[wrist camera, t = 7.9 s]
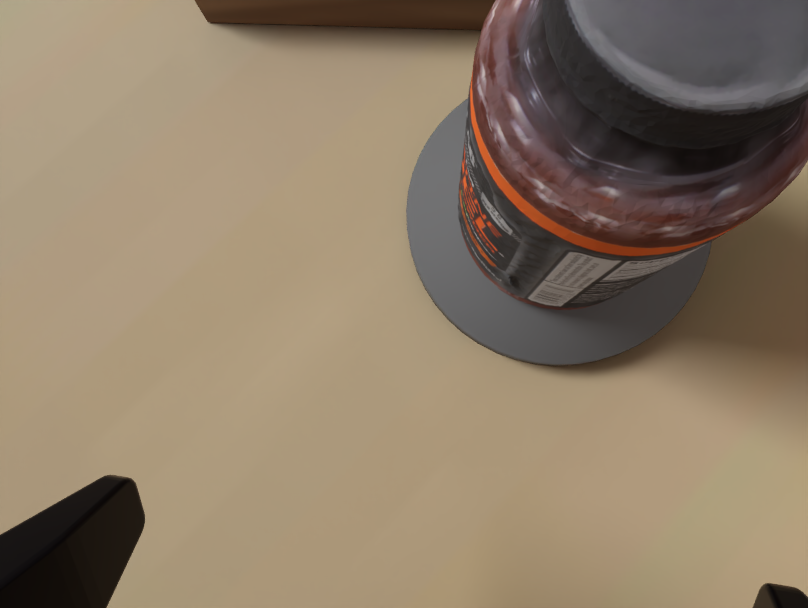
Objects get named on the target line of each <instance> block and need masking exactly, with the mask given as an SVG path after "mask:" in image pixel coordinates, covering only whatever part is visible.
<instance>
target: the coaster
mask: <svg viewBox="0 0 808 608" xmlns="http://www.w3.org/2000/svg"><path fill="white" fill-rule="evenodd" d="M467 107H468V99H466V100H465V101H464V102H463V103H461V104H460V105H459V106H458V107H456V108H455V109H454V110H453V111H452V112H451V113H450V114H449V115H448V116H447V117H446V118H445V119H444V120H443V121H442V122H441V123H440V124H439V125H438V127H437V128H436V130H435V131H434V132H433V134H432V135H431V136H430V138H429V139H428V141H427V143H426V144H425V146H424V148H423V150H422V152H421V154H420V155H419V158H418V161H417V163H416V166H415V168H414V171H413V174H412V178H411V182H410V186H409V190H408V199H407V209H406V213H407V231H408V237H409V243H410V249H411V254H412V257H413V260H414V263H415V267H416V270H417V273H418V275H419V277H420V279H421V281H422V283H423V285H424V287H425V289H426V291H427V292H428V294H429V296H430V297H431V299H432V300H433V302H434V303H435V305H436V306H437V307H438V308H439V310H440V311H441V312H442V313H443V314H444V315H445V317H446V318H447V319H448V320H449V321H450V322H451V323H452V324H453V325H455V326H456V327H457V328H458V329H459V330H460V331H461V332H462V333H464V334H465V335H467V336H468V337H469V338H471V339H472V340H474V341H475V342H477V343H478V344H480V345H482V346H484V347H486V348H488V349H490V350H492V351H493V352H495V353H498V354H501V355H503V356H506V357H509V358H512V359H514V360H519V361H523V362H528V363H532V364H541V365H552V366H558V365H576V364H582V363H588V362H594V361H597V360H601V359H604V358H607V357H610V356H613V355H617V354H620V353H622V352H624V351H626V350H628V349H631V348H633V347H635V346H637V345H639V344H640V343H642V342H644V341H645V340H647V339H648V338H650V337H651V336H653V335H655V334H656V333H657V332H658V331H659V330H661V329H662V328H663V327H664V326H665V325H667V324H668V323H669V322H670V321H671V320H672V319H673V318H674V317H675V316H676V314H677V313H678V312H679V311H680V310H681V309H682V308H683V307H684V305H685V304H686V302H687V301H688V299H689V298H690V296H691V295H692V293H693V292H694V290H695V289H696V286H697V284H698V282H699V280H700V278H701V276H702V274H703V272H704V269H705V266H706V263H707V259H708V256H709V253H710V247H711V242H709V243H708V244H706V245H704V246H702V247H701V248H699V249H697V250H695V251H694V252H692V253H690V254H688V255H687V256H685V257H683V258H682V259H680V260H678V261H677V262H675V263H673V264H671V265H670V266H668V267H666V268H665V269H663V270H661V271H660V272H658V273H656V274H655V275H653V276H651V277H649V278H648V279H646V280H644V281H643V282H641V283H639V284H638V285H636V286H634V287H633V288H631V289H629V290H627V291H626V292H624V293H622V294H620V295H618V296H616V297H614V298H612V299H610V300H607V301H604V302H602V303H600V304H597V305H593V306H589V307H586V308H582V309H575V310H554V309H547V308H541V307H537V306H534V305H530V304H527V303H524V302H522V301H519V300H517V299H515V298H513V297H511V296H510V295H508V294H506V293H504V292H503V291H501V290H500V289H499V288H498V287H497V286H496V285H495V284H493V283H492V282H491V281H490V280H489V279H488V278H487V277H486V276H485V275H484V274H483V273H482V271H481V270H480V269H479V267H478V266H477V265H476V263H475V261H474V260H473V258H472V256H471V255H470V253H469V251H468V249H467V246H466V244H465V241H464V238H463V236H462V232H461V227H460V222H459V219H458V213H459V212H458V203H459V202H458V194H459V182H460V172H461V165H462V157H463V149H464V139H465V129H466V118H467V111H468V110H467Z"/></svg>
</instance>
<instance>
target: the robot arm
mask: <svg viewBox="0 0 808 608" xmlns="http://www.w3.org/2000/svg"><path fill="white" fill-rule="evenodd" d="M144 523H145V514H144V510H143V507H142V503H141V500H140V496H139V493H138V489H137V486H136V483H135V482H134V481H133V480H132V479H131V478H128V477H122V476H116V475H107V476H104V477H102V478H100V479H98V480H96V481H94V482H93V483H91V484H89V485H87V486H86V487H84V488H82V489H80V490H79V491H77V492H75V493H73V494H72V495H70V496H68V497H66V498H64V499H63V500H61V501H59V502H57V503H56V504H54V505H52V506H50V507H49V508H47V509H45V510H43V511H42V512H40V513H38V514H36V515H34V516H33V517H31V518H29V519H27V520H26V521H24V522H22V523H20V524H19V525H17V526H15V527H13V528H12V529H10V530H8V531H6V532H4V533H3V534H1V535H0V608H107V606H108V603H109V601H110V599H111V597H112V595H113V593H114V591H115V589H116V586H117V584H118V582H119V580H120V578H121V576H122V574H123V572H124V569H125V567H126V565H127V563H128V561H129V559H130V557H131V555H132V552H133V550H134V548H135V546H136V544H137V542H138V540H139V538H140V536H141V533H142V531H143V528H144ZM753 608H808V597H807V596H806V595H805V594H804V593H803V592H802V591H801V590H799V589H797V588H794V587H790V586H784V585H778V584H771V583H766V584H764V585H763V586H762V587H761V588H760V590H759V593H758V595H757V598H756V600H755V603H754V606H753Z"/></svg>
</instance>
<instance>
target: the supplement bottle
mask: <svg viewBox="0 0 808 608" xmlns="http://www.w3.org/2000/svg"><path fill="white" fill-rule="evenodd" d="M467 110H468V111H467V118H466V129H465V139H464V149H463V157H462V165H461V172H460V182H459V194H458V202H459V203H458V212H459V213H458V219H459V222H460V227H461V232H462V236H463V238H464V241H465V244H466V246H467V249H468V251H469V253H470V255H471V256H472V258H473V260H474V261H475V263H476V265H477V266H478V267H479V269H480V270H481V271H482V273H483V274H484V275H485V276H486V277H487V278H488V279H489V280H490V281H491V282H492V283H493V284H495V285H496V286H497V287H498V288H499V289H500V290H501V291H503V292H504V293H506V294H508V295H510V296H511V297H513V298H515V299H517V300H519V301H522V302H524V303H527V304H530V305H534V306H537V307H541V308H547V309H554V310H575V309H582V308H586V307H589V306H593V305H597V304H600V303H602V302H604V301H607V300H610V299H612V298H614V297H616V296H618V295H620V294H622V293H624V292H626V291H627V290H629V289H631V288H633V287H634V286H636V285H638V284H639V283H641V282H643V281H644V280H646V279H648V278H649V277H651V276H653V275H655V274H656V273H658V272H660V271H661V270H663V269H665V268H666V267H668V266H670V265H671V264H673V263H675V262H677V261H678V260H680V259H682V258H683V257H685V256H687V255H688V254H690V253H692V252H694V251H695V250H697V249H699V248H701V247H702V246H704V245H706V244H708V243H709V242H711V241H713V240H714V239H716V238H718V237H720V236H721V235H723V234H724V233H726V232H728V231H729V230H731V229H732V228H734V227H736V226H738V225H739V224H741V223H743V222H745V221H746V220H748V219H749V218H751V217H752V216H754V215H755V214H756V213H758V212H759V211H760V210H761V209H763V208H764V207H765V206H767V205H768V204H769V203H771V202H772V201H773V200H774V199H775V198H776V197H777V196H778V195H779V194H780V193H781V192H782V191H783V190H784V189H785V188H786V187H787V186H788V185H789V184H790V183H791V182H792V181H793V180H794V179H795V178H796V177H797V176H798V175H799V173H800V172H801V170H802V168H803V167H804V165H805V164H806V162H807V161H808V0H495V2H494V4H493V5H492V7H491V9H490V11H489V13H488V15H487V17H486V19H485V21H484V23H483V28H482V30H481V35H480V38H479V41H478V44H477V47H476V51H475V56H474V64H473V72H472V78H471V83H470V88H469V96H468V107H467Z"/></svg>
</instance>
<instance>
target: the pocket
mask: <svg viewBox="0 0 808 608" xmlns="http://www.w3.org/2000/svg"><path fill="white" fill-rule="evenodd" d="M195 2H196V3H197V5H198V7H199V8H200V10H201V12H202V13H203V15H204V17H205V18H206V20H207V21H208V22H220V23H256V24H291V25H326V26H361V27H397V28H432V29H467V30H482V28H483V23H484V21H485V19H486V17H487V15H488V13H489V11H490V9H491V7H492V5H493V4H494V2H495V0H195Z"/></svg>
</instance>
